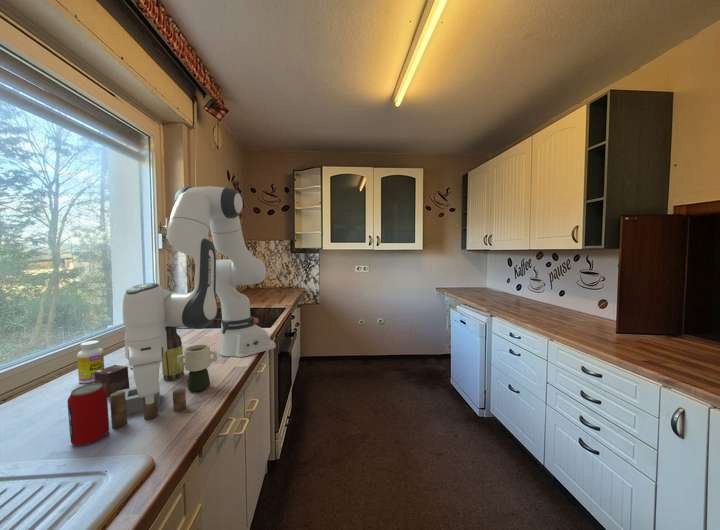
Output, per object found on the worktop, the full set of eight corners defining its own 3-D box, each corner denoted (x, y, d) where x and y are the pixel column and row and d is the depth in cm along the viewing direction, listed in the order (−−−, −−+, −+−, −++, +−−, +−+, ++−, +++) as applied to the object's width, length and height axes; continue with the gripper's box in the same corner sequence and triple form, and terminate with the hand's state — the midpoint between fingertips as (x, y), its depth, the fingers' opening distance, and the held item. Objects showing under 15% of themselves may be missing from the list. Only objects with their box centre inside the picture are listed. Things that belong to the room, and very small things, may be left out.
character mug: (219, 380, 100) (217, 342, 100) (217, 389, 94) (215, 348, 93) (181, 386, 96) (178, 346, 96) (176, 396, 90) (174, 353, 89)
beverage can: (87, 430, 74) (83, 382, 73) (116, 428, 74) (113, 381, 74) (62, 449, 67) (57, 396, 66) (95, 447, 68) (91, 394, 67)
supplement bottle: (89, 384, 99) (86, 346, 99) (73, 383, 101) (70, 345, 100) (110, 376, 106) (107, 340, 105) (94, 375, 107) (92, 339, 107)
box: (130, 389, 96) (128, 366, 95) (109, 398, 90) (107, 374, 90) (116, 386, 98) (115, 364, 97) (95, 395, 92) (93, 371, 92)
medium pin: (127, 420, 78) (125, 389, 78) (126, 425, 76) (124, 394, 75) (112, 424, 76) (110, 393, 76) (111, 430, 74) (108, 398, 73)
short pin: (185, 404, 85) (184, 387, 85) (186, 409, 83) (185, 391, 82) (173, 408, 84) (172, 390, 83) (173, 413, 81) (172, 394, 81)
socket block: (159, 394, 91) (159, 381, 91) (160, 406, 85) (159, 392, 85) (117, 404, 86) (116, 391, 86) (114, 417, 79) (113, 402, 79)
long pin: (158, 412, 82) (155, 372, 81) (158, 417, 79) (155, 375, 78) (144, 415, 80) (141, 374, 79) (143, 421, 77) (141, 379, 77)
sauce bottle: (188, 373, 107) (184, 317, 106) (178, 381, 101) (174, 321, 99) (169, 374, 107) (166, 318, 105) (158, 382, 100) (154, 322, 99)
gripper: (134, 339, 85) (137, 387, 86) (128, 361, 68) (132, 421, 69) (160, 335, 89) (163, 381, 90) (161, 355, 72) (165, 412, 73)
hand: (150, 399), depth 79 cm, fingers closed on long pin, 3 cm apart
